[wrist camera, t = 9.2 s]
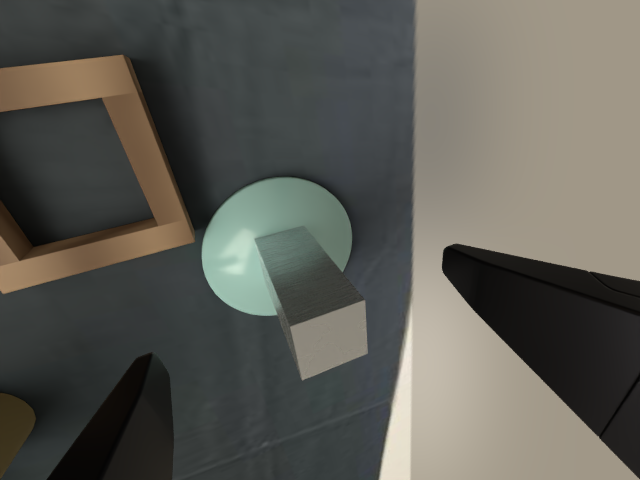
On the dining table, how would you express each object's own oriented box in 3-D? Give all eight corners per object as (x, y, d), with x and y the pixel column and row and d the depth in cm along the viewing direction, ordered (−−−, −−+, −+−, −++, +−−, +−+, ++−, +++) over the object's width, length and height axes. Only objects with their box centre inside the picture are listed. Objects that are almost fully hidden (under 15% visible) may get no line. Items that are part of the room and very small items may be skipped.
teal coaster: (342, 160, 21) (345, 162, 20) (353, 285, 26) (356, 288, 26) (176, 199, 18) (176, 202, 18) (227, 329, 23) (228, 334, 23)
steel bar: (303, 225, 21) (365, 299, 14) (310, 266, 23) (367, 353, 15) (253, 238, 20) (290, 326, 13) (264, 281, 22) (302, 380, 15)
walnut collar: (129, 57, 15) (122, 54, 13) (194, 231, 19) (194, 241, 18) (-130, 87, 12) (-169, 87, 11) (18, 277, 17) (3, 293, 15)
